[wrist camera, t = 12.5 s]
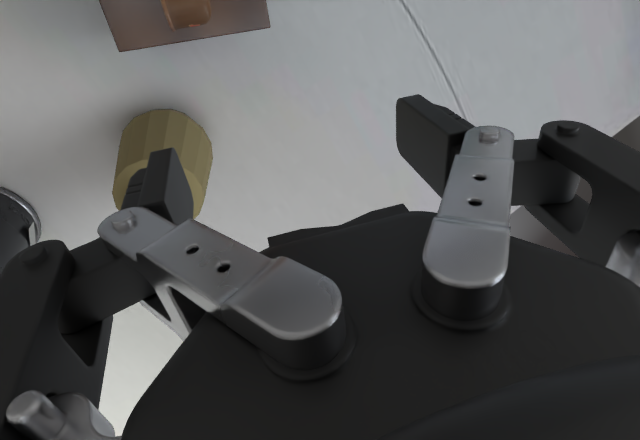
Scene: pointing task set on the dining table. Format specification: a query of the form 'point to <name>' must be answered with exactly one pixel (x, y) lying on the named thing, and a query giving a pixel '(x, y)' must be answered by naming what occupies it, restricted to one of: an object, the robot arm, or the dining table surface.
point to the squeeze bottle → (159, 134)
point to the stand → (153, 29)
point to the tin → (186, 13)
